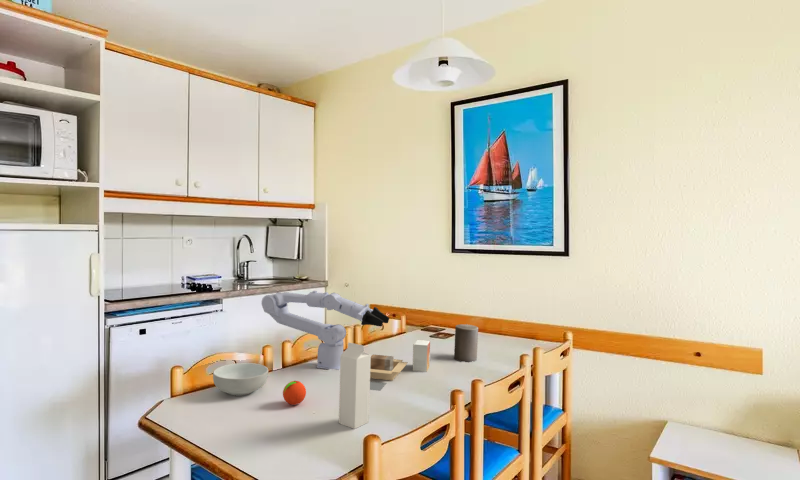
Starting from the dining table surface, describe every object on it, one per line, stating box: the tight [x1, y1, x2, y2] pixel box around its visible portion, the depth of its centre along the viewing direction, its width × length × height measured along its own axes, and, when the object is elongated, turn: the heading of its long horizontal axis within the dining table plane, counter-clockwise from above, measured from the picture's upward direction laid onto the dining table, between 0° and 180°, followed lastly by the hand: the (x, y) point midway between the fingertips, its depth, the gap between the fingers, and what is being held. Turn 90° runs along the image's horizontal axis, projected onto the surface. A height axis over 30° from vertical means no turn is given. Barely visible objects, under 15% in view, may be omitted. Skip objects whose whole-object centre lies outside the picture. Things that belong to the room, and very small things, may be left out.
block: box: [370, 354, 395, 371], centre depth 174 cm, size 8×5×6 cm, turn 76°
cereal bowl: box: [212, 362, 269, 397], centre depth 152 cm, size 17×17×7 cm
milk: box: [338, 342, 372, 430], centre depth 130 cm, size 6×6×22 cm
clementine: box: [282, 380, 307, 406], centre depth 142 cm, size 8×7×7 cm
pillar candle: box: [453, 323, 479, 363], centre depth 199 cm, size 10×10×15 cm
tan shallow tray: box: [370, 359, 408, 381], centre depth 174 cm, size 17×18×4 cm
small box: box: [412, 339, 431, 373], centre depth 182 cm, size 8×6×10 cm
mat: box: [370, 380, 387, 392], centre depth 161 cm, size 12×8×1 cm, turn 76°
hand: (385, 322), depth 176 cm, fingers open, 7 cm apart
